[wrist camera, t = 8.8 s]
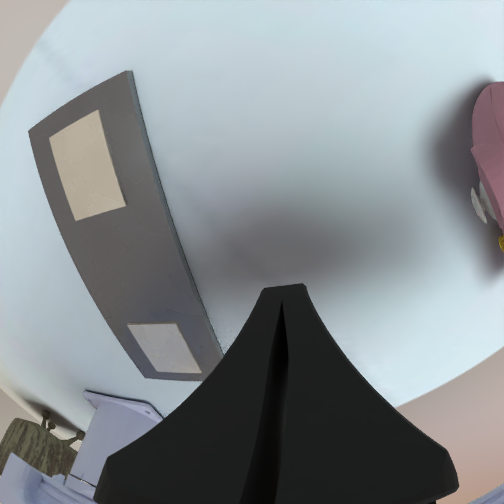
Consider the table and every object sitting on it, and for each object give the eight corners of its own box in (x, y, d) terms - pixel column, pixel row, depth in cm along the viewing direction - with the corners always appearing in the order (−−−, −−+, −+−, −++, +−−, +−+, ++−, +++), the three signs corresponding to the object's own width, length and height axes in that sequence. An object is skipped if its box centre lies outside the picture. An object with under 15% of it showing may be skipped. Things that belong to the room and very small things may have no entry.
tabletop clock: (55, 425, 33) (19, 517, 12) (22, 396, 29) (-22, 492, 8) (97, 439, 30) (59, 554, 8) (56, 407, 26) (6, 532, 4)
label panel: (232, 376, 15) (231, 382, 15) (147, 373, 16) (144, 379, 16) (131, 71, 8) (125, 70, 7) (33, 129, 9) (26, 131, 8)
